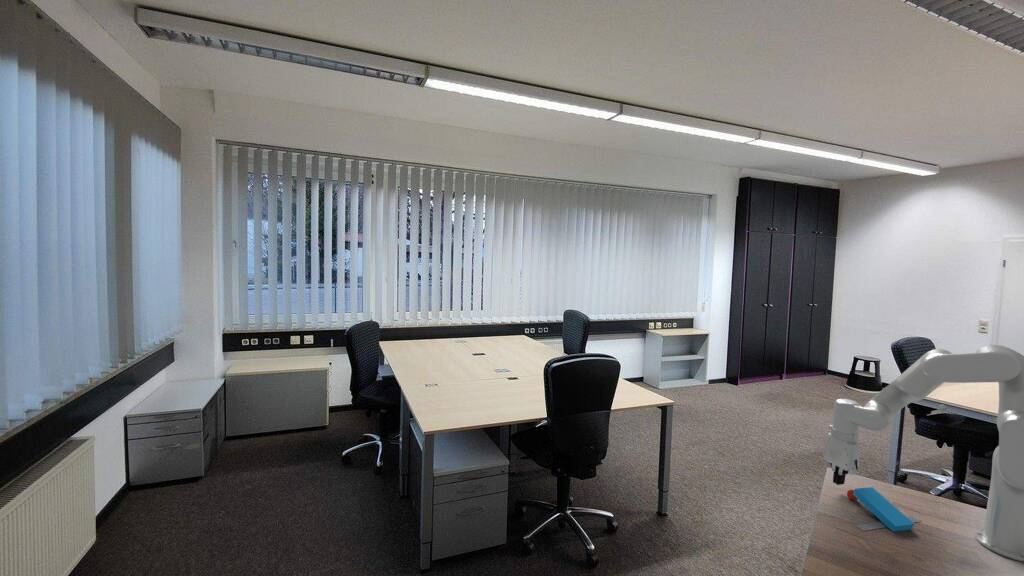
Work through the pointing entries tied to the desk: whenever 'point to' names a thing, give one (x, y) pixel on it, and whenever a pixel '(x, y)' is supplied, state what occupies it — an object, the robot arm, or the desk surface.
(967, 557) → the desk surface
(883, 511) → the lever
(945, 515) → the desk surface
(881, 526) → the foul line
